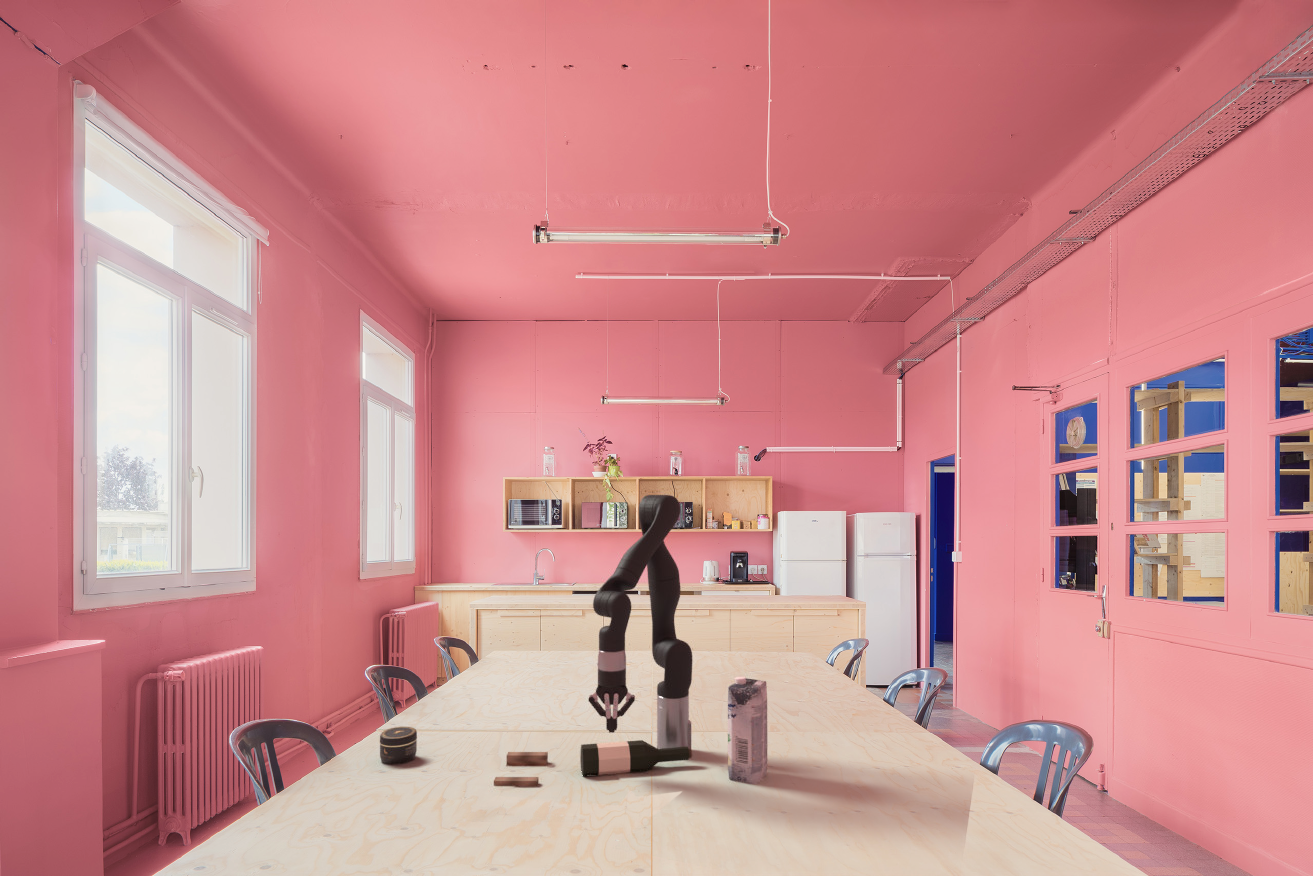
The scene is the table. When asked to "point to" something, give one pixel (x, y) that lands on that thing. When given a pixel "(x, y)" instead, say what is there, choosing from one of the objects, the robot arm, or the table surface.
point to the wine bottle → (626, 757)
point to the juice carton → (747, 730)
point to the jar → (398, 745)
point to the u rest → (523, 760)
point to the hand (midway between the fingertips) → (611, 731)
